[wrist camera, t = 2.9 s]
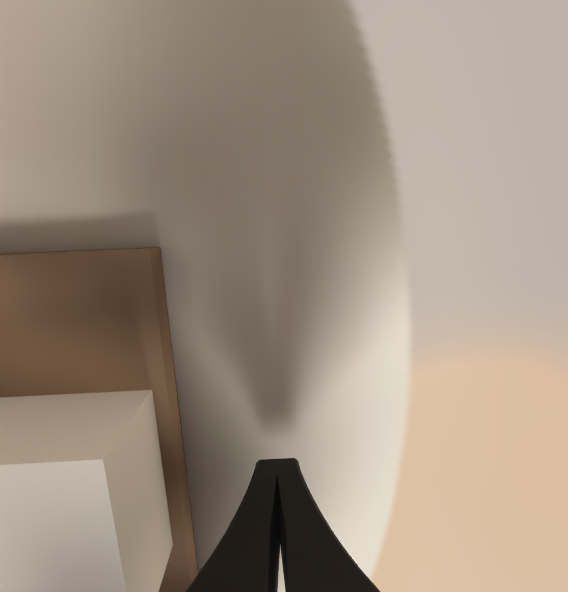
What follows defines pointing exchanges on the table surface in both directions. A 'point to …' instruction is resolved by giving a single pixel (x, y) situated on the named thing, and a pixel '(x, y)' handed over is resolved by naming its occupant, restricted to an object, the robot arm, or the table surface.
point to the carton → (82, 494)
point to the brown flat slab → (99, 352)
